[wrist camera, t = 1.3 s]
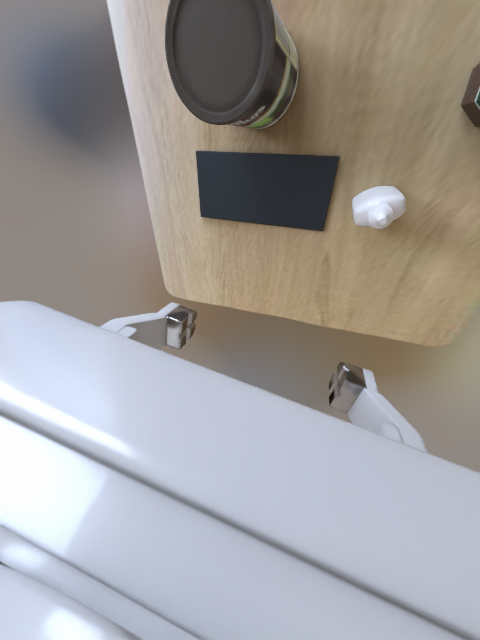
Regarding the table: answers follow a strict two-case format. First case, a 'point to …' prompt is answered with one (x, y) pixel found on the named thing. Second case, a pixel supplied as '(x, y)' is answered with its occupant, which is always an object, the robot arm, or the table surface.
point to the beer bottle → (473, 97)
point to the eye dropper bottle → (378, 206)
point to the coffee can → (231, 60)
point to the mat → (266, 187)
